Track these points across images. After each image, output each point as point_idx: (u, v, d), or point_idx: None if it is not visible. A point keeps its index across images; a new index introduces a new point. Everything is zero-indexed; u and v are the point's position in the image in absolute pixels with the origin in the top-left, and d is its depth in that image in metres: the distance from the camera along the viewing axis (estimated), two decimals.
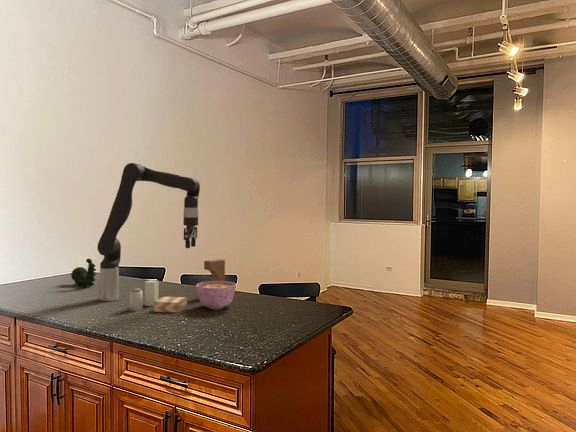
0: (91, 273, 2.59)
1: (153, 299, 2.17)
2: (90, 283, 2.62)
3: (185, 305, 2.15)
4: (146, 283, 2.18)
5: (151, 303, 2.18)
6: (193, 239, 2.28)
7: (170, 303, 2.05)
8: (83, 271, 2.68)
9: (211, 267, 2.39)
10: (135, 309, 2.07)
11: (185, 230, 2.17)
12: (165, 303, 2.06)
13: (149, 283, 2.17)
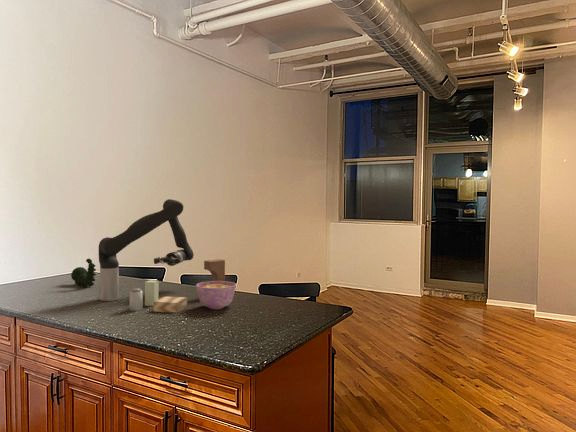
0: (91, 273, 2.59)
1: (153, 299, 2.17)
2: (90, 283, 2.62)
3: (185, 305, 2.15)
4: (146, 283, 2.18)
5: (151, 303, 2.18)
6: (158, 261, 2.37)
7: (170, 303, 2.05)
8: (83, 271, 2.68)
9: (211, 267, 2.39)
10: (135, 309, 2.07)
11: (180, 259, 2.41)
12: (165, 303, 2.06)
13: (149, 283, 2.17)
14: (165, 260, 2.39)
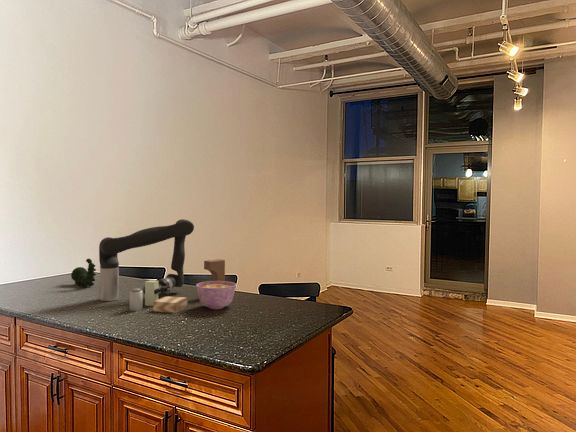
0: (91, 273, 2.59)
1: (153, 299, 2.17)
2: (90, 283, 2.62)
3: (185, 305, 2.15)
4: (146, 283, 2.18)
5: (151, 303, 2.18)
6: None
7: (169, 303, 2.05)
8: (83, 271, 2.68)
9: (211, 267, 2.39)
10: (135, 309, 2.07)
11: (169, 288, 2.25)
12: (164, 303, 2.06)
13: (149, 283, 2.17)
14: None
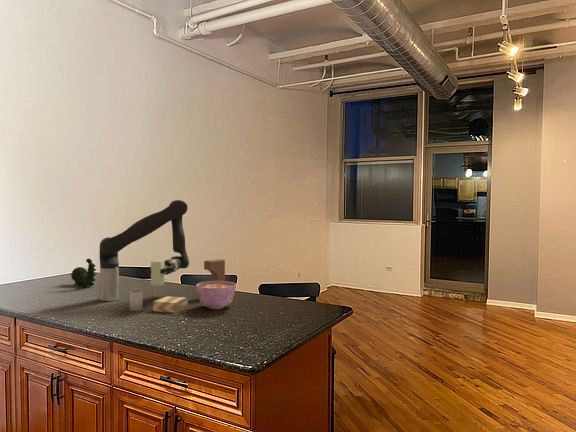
0: (91, 273, 2.59)
1: (159, 279, 2.15)
2: (90, 283, 2.62)
3: (185, 305, 2.14)
4: (152, 262, 2.15)
5: (157, 283, 2.15)
6: None
7: (168, 303, 2.05)
8: (83, 271, 2.68)
9: (211, 267, 2.39)
10: (135, 309, 2.07)
11: (175, 268, 2.23)
12: (164, 303, 2.06)
13: (155, 262, 2.15)
14: None
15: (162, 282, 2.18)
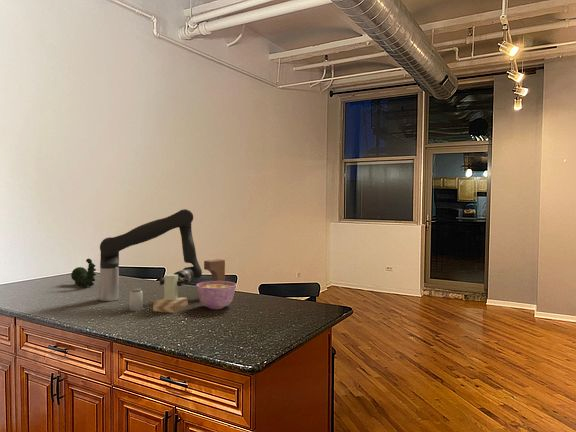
0: (91, 273, 2.59)
1: (173, 293, 2.09)
2: (90, 283, 2.62)
3: (185, 306, 2.14)
4: (166, 277, 2.09)
5: (170, 297, 2.09)
6: None
7: (168, 303, 2.05)
8: (83, 271, 2.68)
9: (211, 267, 2.38)
10: (135, 309, 2.07)
11: (189, 279, 2.18)
12: (163, 303, 2.06)
13: (169, 277, 2.09)
14: None
15: (175, 297, 2.11)
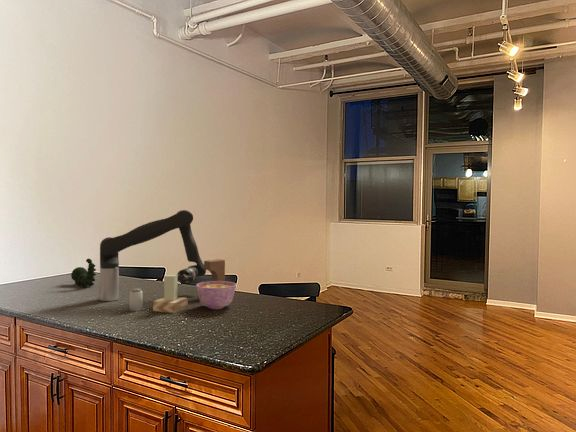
0: (91, 273, 2.59)
1: (173, 294, 2.09)
2: (90, 283, 2.62)
3: (185, 306, 2.14)
4: (165, 277, 2.09)
5: (170, 298, 2.09)
6: None
7: (168, 303, 2.05)
8: (83, 271, 2.68)
9: (211, 267, 2.39)
10: (135, 309, 2.07)
11: (194, 277, 2.25)
12: (163, 303, 2.06)
13: (169, 277, 2.09)
14: None
15: (175, 297, 2.11)
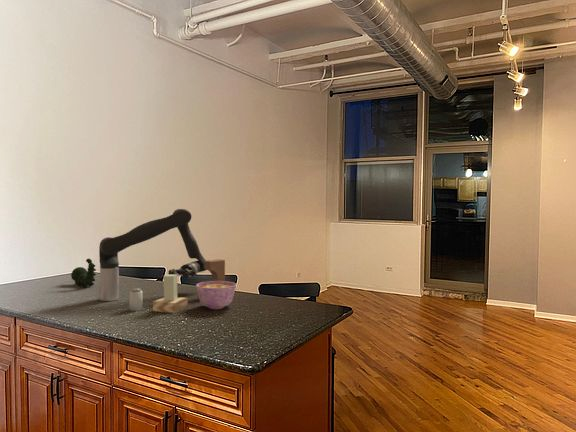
0: (91, 273, 2.59)
1: (173, 294, 2.09)
2: (90, 283, 2.62)
3: (185, 306, 2.14)
4: (165, 277, 2.09)
5: (170, 298, 2.09)
6: (173, 273, 2.28)
7: (168, 303, 2.05)
8: (83, 271, 2.68)
9: (211, 267, 2.39)
10: (135, 309, 2.07)
11: (196, 272, 2.32)
12: (163, 303, 2.06)
13: (168, 277, 2.09)
14: (180, 272, 2.30)
15: (175, 297, 2.11)
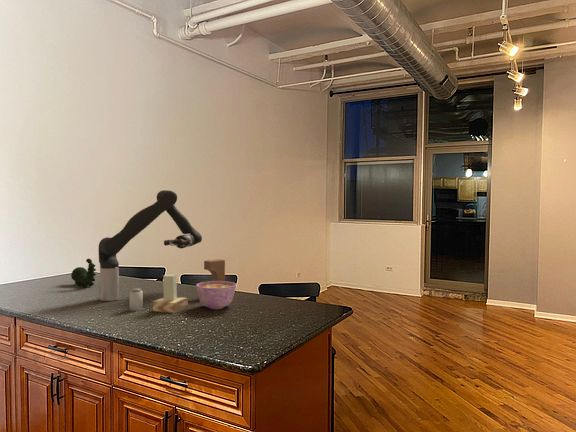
0: (91, 273, 2.59)
1: (172, 294, 2.09)
2: (90, 283, 2.62)
3: (185, 306, 2.14)
4: (164, 277, 2.09)
5: (170, 298, 2.09)
6: (168, 243, 2.38)
7: (168, 303, 2.05)
8: (83, 271, 2.68)
9: (211, 267, 2.38)
10: (135, 309, 2.07)
11: (190, 242, 2.42)
12: (163, 303, 2.06)
13: (168, 277, 2.09)
14: (175, 242, 2.40)
15: (175, 297, 2.11)
